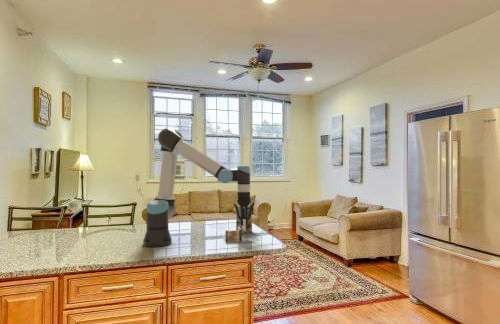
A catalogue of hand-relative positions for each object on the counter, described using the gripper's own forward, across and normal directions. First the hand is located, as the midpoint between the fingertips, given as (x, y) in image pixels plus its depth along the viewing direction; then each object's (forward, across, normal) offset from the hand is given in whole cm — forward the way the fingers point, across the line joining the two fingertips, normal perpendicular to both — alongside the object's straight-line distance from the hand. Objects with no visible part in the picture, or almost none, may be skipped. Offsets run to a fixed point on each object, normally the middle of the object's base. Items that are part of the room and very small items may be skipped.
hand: (243, 230), depth 189 cm
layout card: (+4, +3, +2) cm, 6 cm away
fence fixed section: (+4, +8, +7) cm, 11 cm away
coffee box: (+5, -4, -16) cm, 18 cm away
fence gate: (+4, +3, +1) cm, 5 cm away
